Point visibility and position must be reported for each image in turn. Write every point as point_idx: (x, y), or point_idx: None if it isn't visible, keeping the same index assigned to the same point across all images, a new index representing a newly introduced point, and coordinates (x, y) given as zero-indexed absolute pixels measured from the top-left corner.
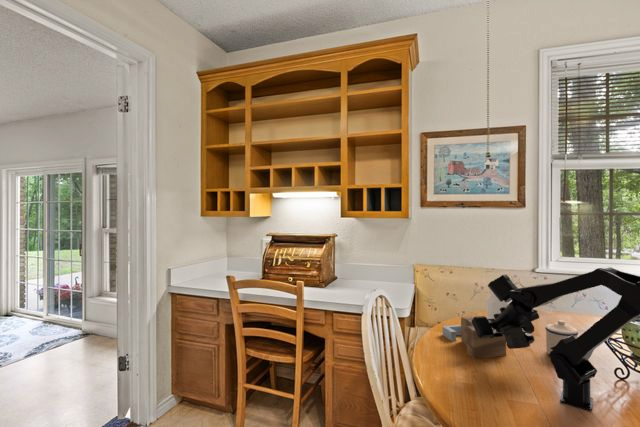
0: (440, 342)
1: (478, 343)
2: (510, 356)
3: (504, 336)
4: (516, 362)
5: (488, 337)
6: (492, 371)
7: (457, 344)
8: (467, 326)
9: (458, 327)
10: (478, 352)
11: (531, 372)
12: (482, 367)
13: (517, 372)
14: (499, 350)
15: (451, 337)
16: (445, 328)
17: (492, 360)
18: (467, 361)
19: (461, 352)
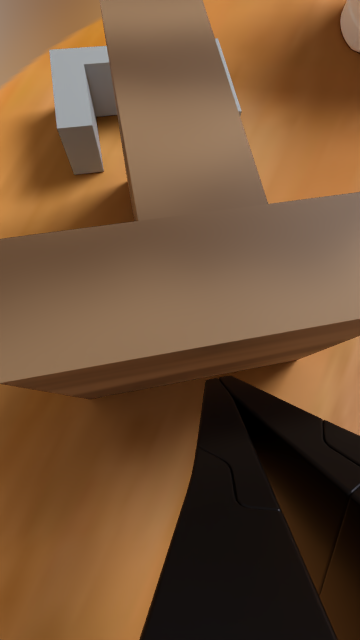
0: (5, 185)
1: (105, 386)
2: (315, 375)
3: (357, 334)
4: None
5: (203, 361)
6: (114, 604)
7: (88, 213)
8: (3, 244)
9: None
10: (116, 390)
11: None
12: (78, 537)
13: None
14: (267, 362)
15: (68, 158)
16: (52, 77)
17: (189, 429)
18: (27, 442)
19: None
